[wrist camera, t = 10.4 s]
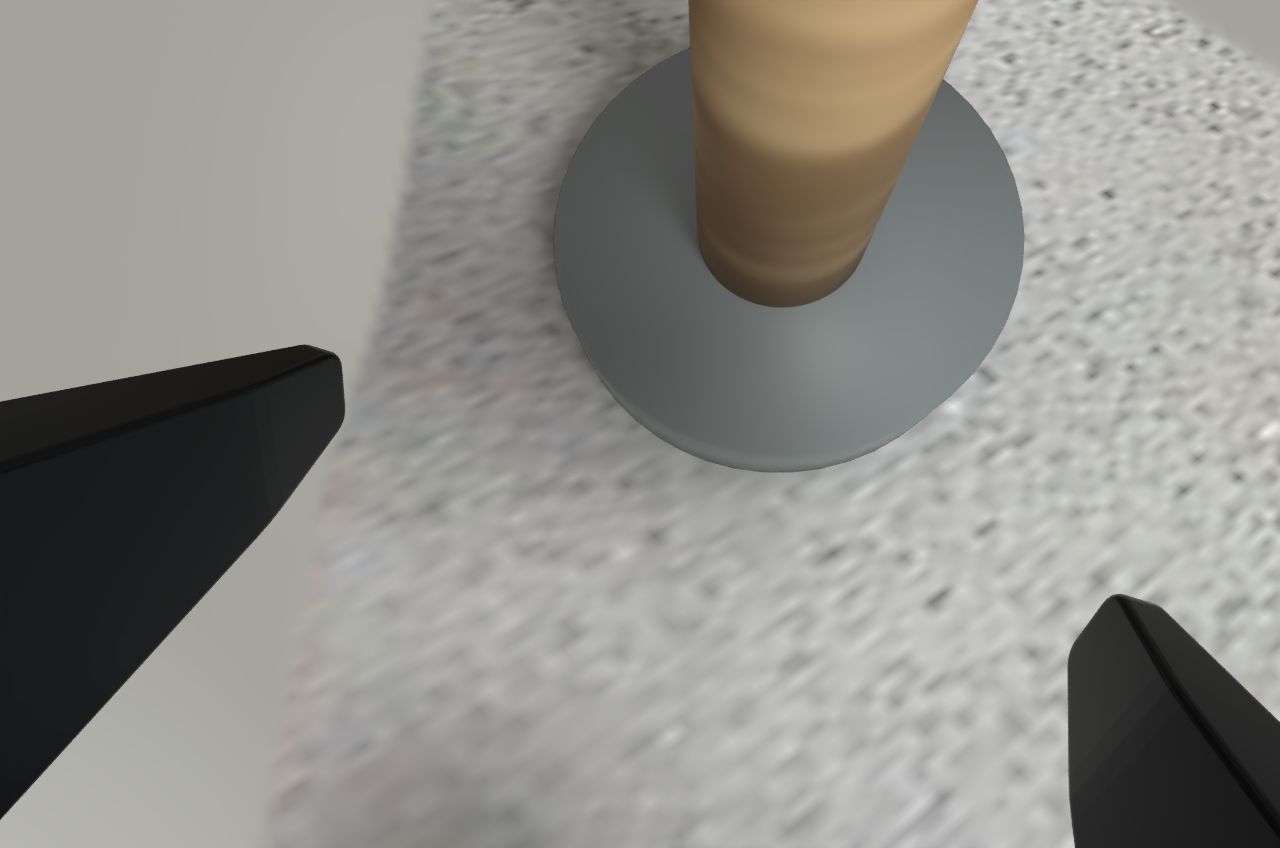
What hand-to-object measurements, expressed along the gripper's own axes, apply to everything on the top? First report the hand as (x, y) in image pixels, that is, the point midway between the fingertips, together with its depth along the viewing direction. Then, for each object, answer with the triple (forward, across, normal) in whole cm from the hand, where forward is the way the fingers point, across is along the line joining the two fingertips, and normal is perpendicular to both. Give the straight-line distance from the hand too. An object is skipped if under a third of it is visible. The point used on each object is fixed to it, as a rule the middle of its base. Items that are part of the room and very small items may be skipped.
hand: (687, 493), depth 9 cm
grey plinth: (+13, 0, +2) cm, 13 cm away
